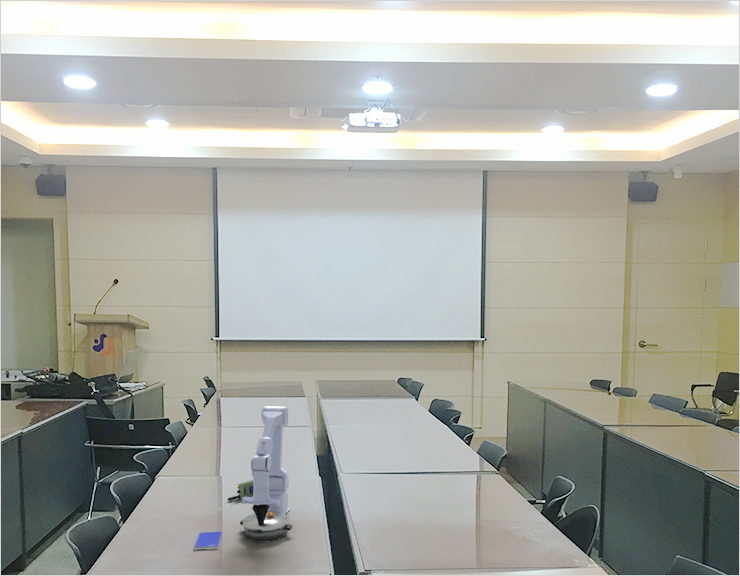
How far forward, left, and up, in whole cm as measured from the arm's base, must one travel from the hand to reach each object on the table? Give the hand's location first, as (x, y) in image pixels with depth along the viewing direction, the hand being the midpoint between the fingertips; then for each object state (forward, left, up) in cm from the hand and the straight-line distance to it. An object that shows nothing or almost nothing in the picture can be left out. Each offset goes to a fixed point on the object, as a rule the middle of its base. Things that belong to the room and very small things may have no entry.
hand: (261, 524), depth 225 cm
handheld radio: (-39, -23, -6) cm, 45 cm away
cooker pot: (-4, 0, -5) cm, 6 cm away
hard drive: (+9, -17, -6) cm, 20 cm away
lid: (-3, 0, -1) cm, 4 cm away
